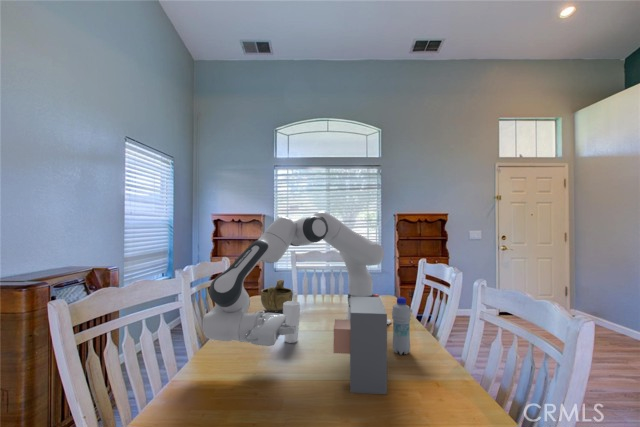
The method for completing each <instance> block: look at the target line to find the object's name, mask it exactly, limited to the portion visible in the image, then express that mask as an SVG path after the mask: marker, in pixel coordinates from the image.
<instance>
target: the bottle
mask: <svg viewBox="0 0 640 427" xmlns="http://www.w3.org/2000/svg"><path fill="white" fill-rule="evenodd" d="M410 307H411V306H409V305H407V299H406V298H405V297H403V296H400V297H397V298H396V304H394V305H393V306H392V312H391V317H392V320H393V321H392V350H393V351H394V353H395V354H398V353H399V355H400V356H401V355H403V354H404V355H405V354H406V355H408V354H409V353H410V351H411V339H410V335H411V334H410V333H411V330H410V327H411V326H410V322H411V308H410Z"/></svg>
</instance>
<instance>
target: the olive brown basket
mask: <svg viewBox="0 0 640 427" xmlns="http://www.w3.org/2000/svg"><path fill="white" fill-rule="evenodd" d="M284 284H285V280H284V279H282V278H281V279H278V278H277V281H276V286H268V288H263V289H261V293H260V301H261V304H262V306H263V308H264V309H265V310H266V311H268V312H269V313H281V312H283V303H284V302H288V301H293V298H294V296H293V289H291V288H288V287H287V288H286V287H285V286H284Z"/></svg>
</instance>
